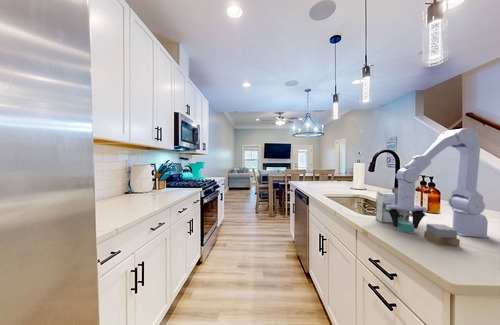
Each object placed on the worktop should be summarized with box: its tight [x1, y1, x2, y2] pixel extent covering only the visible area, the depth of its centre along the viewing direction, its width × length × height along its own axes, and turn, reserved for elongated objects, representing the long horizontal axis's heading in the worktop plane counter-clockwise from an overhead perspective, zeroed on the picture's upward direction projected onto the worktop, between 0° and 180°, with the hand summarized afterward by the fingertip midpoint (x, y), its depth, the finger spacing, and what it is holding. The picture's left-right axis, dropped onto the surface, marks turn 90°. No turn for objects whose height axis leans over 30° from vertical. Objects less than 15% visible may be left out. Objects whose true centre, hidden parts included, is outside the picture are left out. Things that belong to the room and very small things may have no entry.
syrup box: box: [375, 191, 395, 224], centre depth 99 cm, size 6×6×14 cm
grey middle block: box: [425, 223, 458, 238], centre depth 76 cm, size 6×6×3 cm
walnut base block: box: [423, 230, 461, 248], centre depth 76 cm, size 7×7×3 cm
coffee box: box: [391, 187, 410, 222], centre depth 100 cm, size 9×6×16 cm
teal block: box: [395, 221, 415, 234], centre depth 87 cm, size 4×4×4 cm
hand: (405, 227), depth 87 cm, fingers open, 7 cm apart
